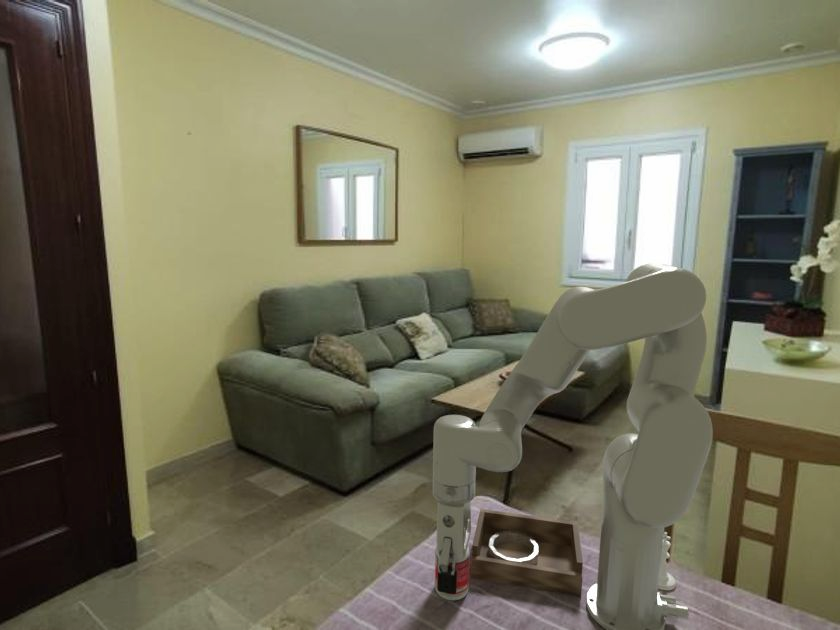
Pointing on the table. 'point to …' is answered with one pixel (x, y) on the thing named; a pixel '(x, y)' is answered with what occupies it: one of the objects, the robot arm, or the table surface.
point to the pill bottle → (462, 576)
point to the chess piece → (665, 578)
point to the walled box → (529, 553)
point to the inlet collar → (517, 538)
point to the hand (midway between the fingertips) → (451, 573)
